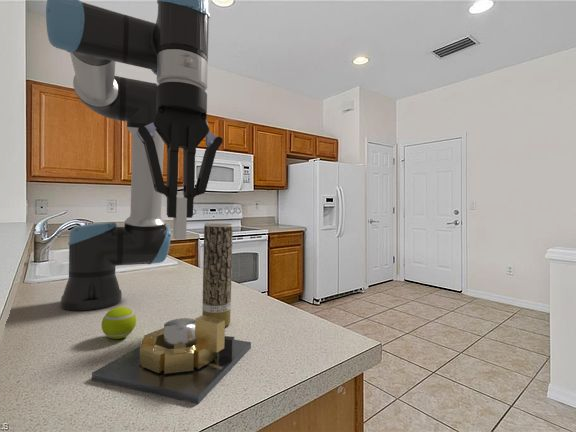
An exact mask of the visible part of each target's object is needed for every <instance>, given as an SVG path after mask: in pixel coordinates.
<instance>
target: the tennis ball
mask: <svg viewBox="0 0 576 432" xmlns="http://www.w3.org/2000/svg"><path fill="white" fill-rule="evenodd" d="M136 325H137V316H136V314H135V312H134V311H133V310H132V309H131V308H128V307H126V306H117V307H114V308H111V309H110V310H109V311H107V312H106V313H105V315H104V317H103V318H102V321H101V330H102V332H103V334H104V335H105V336H106V337H108V338H110V339H113V340H120V339H123V338H126V337H128V336H129V335H130V334H131V333H132V332H133V331H134V330H135V327H136Z"/></svg>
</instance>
